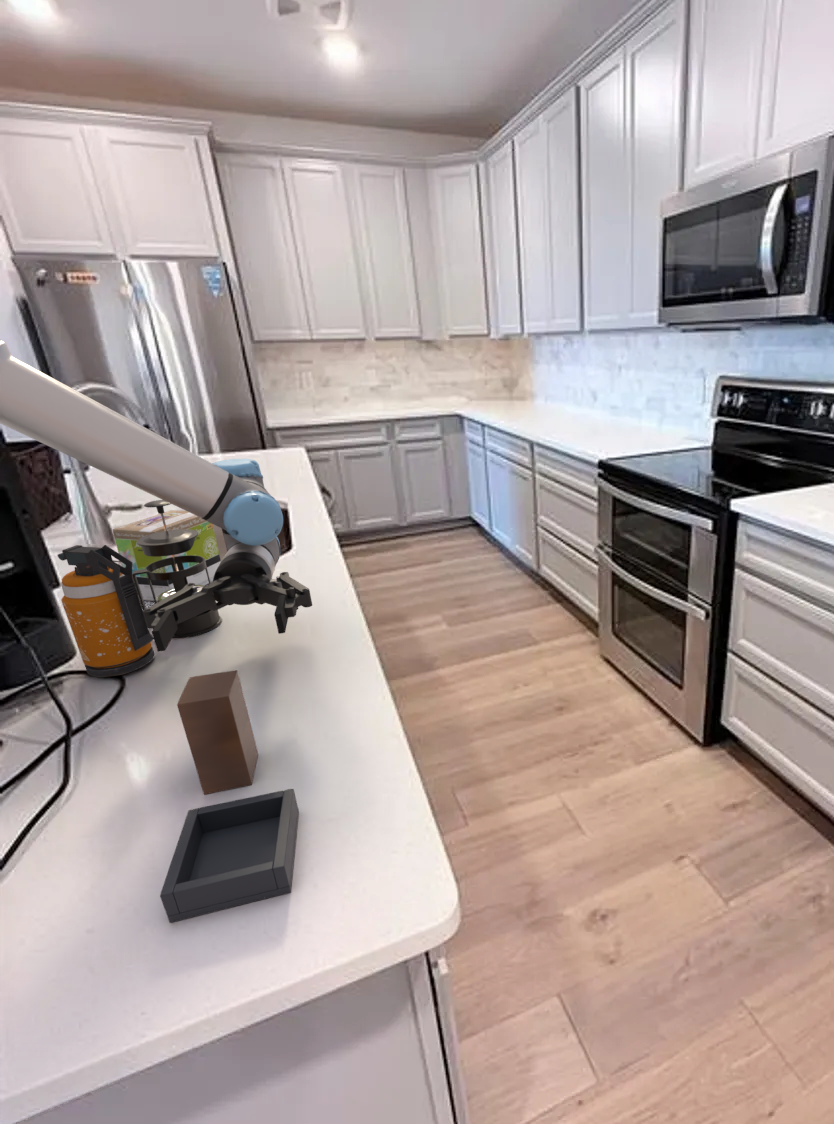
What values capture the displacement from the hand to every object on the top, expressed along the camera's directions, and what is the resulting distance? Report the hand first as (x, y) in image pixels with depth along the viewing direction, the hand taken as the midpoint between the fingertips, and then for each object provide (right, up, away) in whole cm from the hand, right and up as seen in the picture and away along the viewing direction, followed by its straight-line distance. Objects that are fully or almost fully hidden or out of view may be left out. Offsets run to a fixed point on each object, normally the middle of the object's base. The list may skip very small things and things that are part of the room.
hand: (220, 632), depth 76 cm
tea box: (-37, +6, +52) cm, 64 cm away
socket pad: (+11, -22, -15) cm, 29 cm away
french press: (-25, -2, +34) cm, 42 cm away
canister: (-26, -7, +21) cm, 35 cm away
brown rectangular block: (+3, -17, -3) cm, 17 cm away
